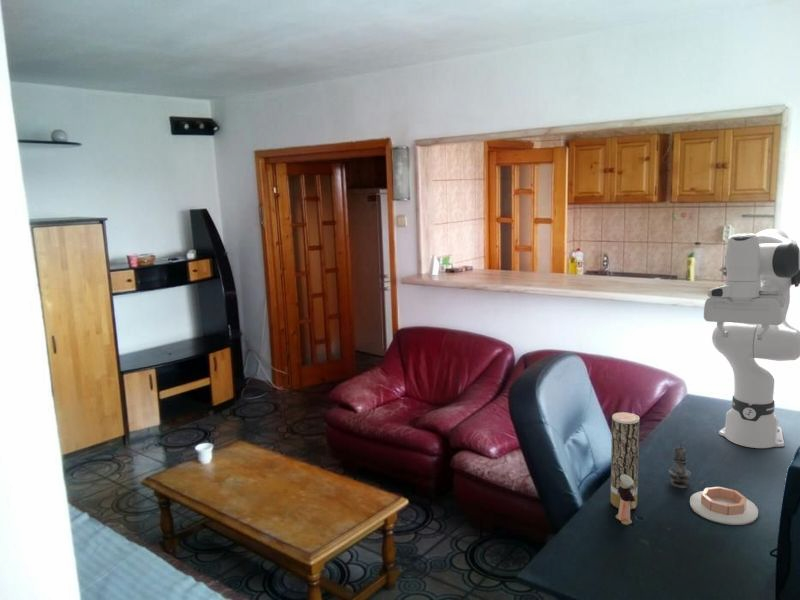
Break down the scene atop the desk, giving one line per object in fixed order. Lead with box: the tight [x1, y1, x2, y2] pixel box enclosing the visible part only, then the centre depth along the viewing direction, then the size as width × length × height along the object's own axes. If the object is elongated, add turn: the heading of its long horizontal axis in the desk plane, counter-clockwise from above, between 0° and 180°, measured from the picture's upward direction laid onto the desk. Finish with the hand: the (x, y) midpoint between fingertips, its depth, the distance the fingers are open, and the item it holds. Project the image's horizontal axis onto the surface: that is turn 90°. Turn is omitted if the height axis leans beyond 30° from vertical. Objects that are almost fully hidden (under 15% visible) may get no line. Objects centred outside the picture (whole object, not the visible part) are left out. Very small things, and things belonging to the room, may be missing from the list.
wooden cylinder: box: [610, 411, 640, 510], centre depth 167 cm, size 7×7×25 cm
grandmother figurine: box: [615, 474, 637, 526], centre depth 160 cm, size 8×4×13 cm, turn 23°
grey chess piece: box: [668, 444, 692, 489], centre depth 178 cm, size 6×6×12 cm
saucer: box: [689, 486, 759, 526], centre depth 165 cm, size 16×16×4 cm
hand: (742, 338), depth 180 cm, fingers open, 8 cm apart
